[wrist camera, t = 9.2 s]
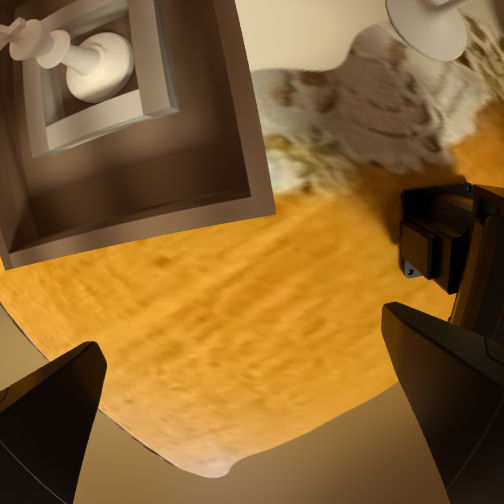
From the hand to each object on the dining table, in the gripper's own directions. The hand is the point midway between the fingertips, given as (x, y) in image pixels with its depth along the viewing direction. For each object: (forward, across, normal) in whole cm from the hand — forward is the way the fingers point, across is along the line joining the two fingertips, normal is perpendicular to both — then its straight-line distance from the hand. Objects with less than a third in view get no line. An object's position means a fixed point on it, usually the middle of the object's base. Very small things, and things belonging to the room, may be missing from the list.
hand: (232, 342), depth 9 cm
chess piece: (+11, +7, -13) cm, 18 cm away
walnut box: (+12, +7, -13) cm, 19 cm away
